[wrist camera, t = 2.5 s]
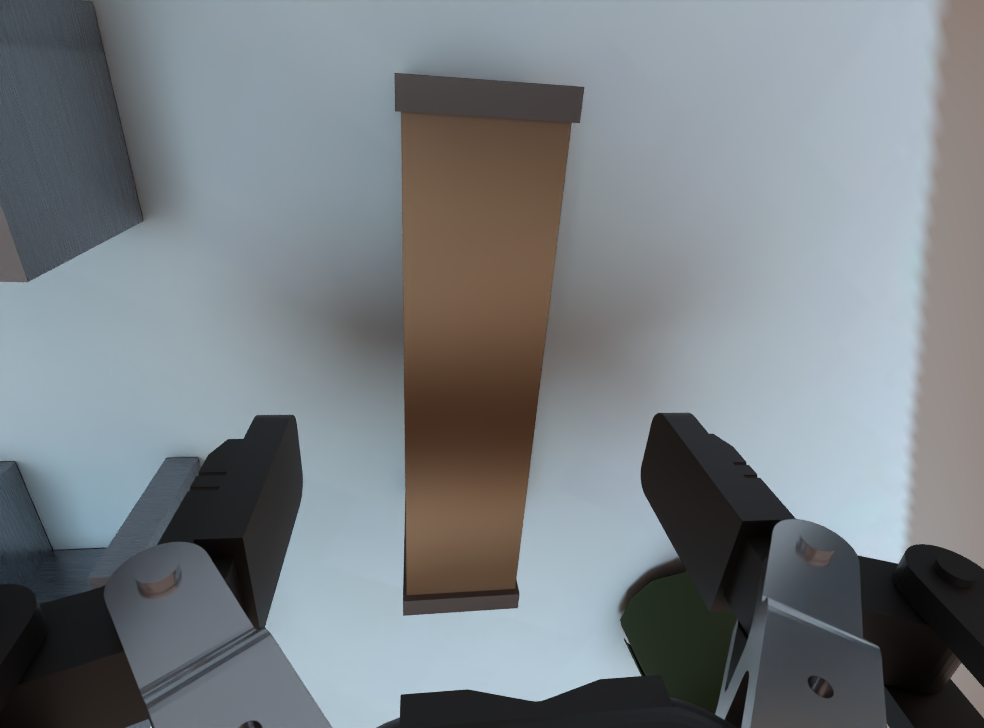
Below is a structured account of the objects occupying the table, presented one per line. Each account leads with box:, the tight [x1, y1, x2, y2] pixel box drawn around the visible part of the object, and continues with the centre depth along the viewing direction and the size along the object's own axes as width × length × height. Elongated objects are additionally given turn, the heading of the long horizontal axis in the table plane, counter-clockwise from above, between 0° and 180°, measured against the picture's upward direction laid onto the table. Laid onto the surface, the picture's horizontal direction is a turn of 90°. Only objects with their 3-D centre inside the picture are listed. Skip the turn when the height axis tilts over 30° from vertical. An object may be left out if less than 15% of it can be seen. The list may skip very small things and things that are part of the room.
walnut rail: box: [395, 73, 584, 616], centre depth 15 cm, size 14×3×5 cm, turn 176°
